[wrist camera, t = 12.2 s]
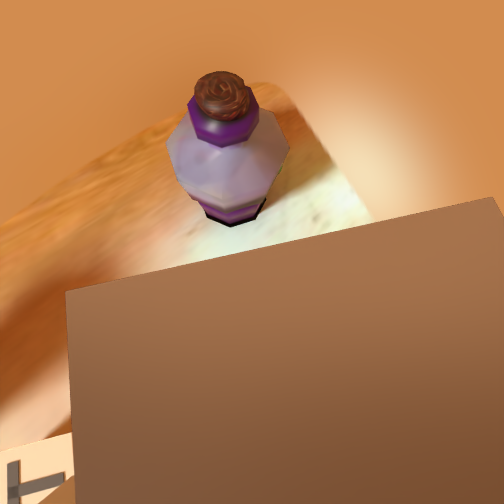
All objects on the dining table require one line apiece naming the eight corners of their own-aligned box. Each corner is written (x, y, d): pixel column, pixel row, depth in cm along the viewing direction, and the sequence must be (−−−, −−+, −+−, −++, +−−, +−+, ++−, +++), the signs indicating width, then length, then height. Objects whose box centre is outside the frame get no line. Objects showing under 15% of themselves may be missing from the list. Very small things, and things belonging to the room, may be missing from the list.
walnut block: (355, 499, 17) (822, 796, 3) (238, 530, 17) (103, 1054, 3) (320, 378, 20) (492, 196, 5) (215, 404, 19) (64, 291, 5)
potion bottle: (305, 200, 35) (327, 92, 24) (226, 264, 33) (210, 177, 22) (238, 139, 38) (229, 16, 27) (161, 194, 35) (117, 85, 24)
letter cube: (105, 509, 26) (76, 522, 22) (32, 530, 26) (-12, 548, 22) (98, 433, 28) (70, 432, 24) (30, 451, 28) (-11, 453, 23)
